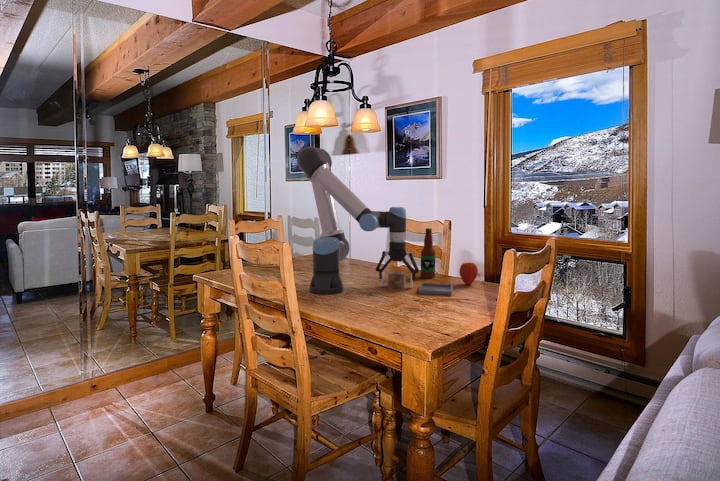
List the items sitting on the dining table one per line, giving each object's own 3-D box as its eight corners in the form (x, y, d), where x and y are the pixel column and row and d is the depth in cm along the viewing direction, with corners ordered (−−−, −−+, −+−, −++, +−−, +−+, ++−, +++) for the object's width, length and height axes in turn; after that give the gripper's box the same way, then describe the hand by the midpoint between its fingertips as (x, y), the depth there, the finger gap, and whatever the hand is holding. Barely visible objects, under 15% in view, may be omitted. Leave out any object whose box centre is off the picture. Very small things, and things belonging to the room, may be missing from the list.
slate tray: (418, 293, 201) (418, 289, 201) (421, 286, 214) (421, 282, 214) (451, 295, 198) (451, 291, 198) (452, 288, 211) (452, 284, 211)
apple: (466, 287, 213) (466, 264, 211) (455, 283, 221) (455, 261, 219) (481, 285, 216) (482, 262, 215) (469, 281, 224) (470, 260, 223)
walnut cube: (388, 288, 210) (388, 273, 210) (390, 285, 217) (390, 270, 216) (403, 289, 209) (403, 274, 208) (405, 286, 216) (405, 271, 215)
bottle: (418, 278, 233) (419, 228, 229) (423, 275, 239) (423, 227, 236) (432, 279, 230) (433, 229, 226) (436, 276, 236) (437, 228, 233)
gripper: (369, 241, 209) (369, 287, 212) (424, 243, 204) (423, 290, 207) (372, 239, 217) (372, 283, 219) (425, 240, 211) (424, 286, 214)
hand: (397, 286), depth 213 cm, fingers open, 13 cm apart
